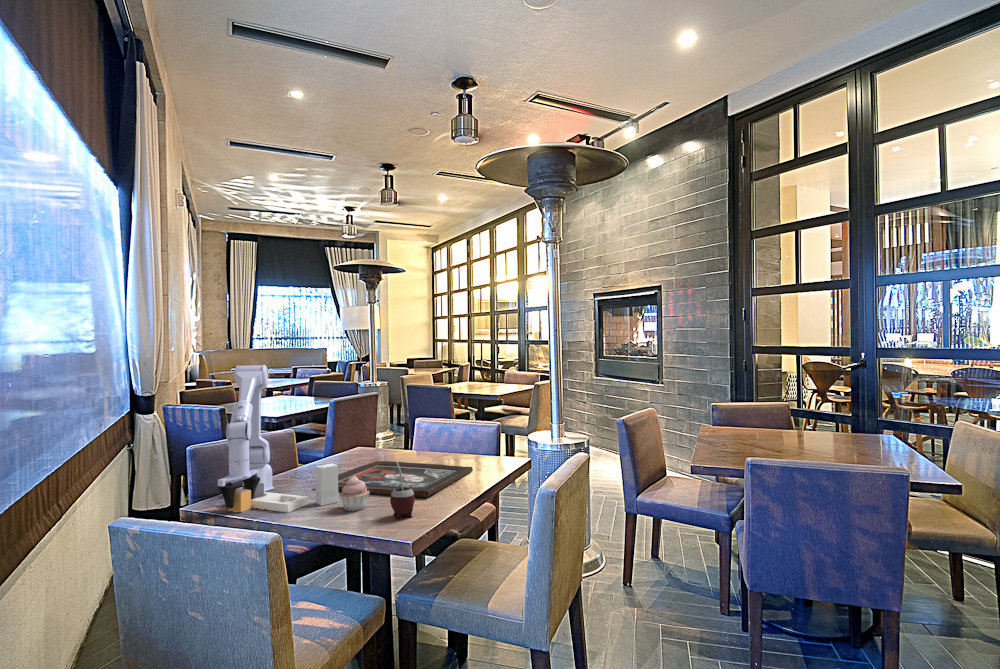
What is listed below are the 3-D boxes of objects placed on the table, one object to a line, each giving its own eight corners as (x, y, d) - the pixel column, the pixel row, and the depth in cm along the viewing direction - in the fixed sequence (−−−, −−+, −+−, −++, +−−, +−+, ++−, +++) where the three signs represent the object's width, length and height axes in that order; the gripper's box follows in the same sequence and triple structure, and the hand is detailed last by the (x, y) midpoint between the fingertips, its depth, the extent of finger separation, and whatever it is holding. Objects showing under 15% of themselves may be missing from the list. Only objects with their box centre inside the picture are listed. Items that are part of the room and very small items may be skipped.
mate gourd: (406, 521, 163) (405, 469, 163) (383, 518, 166) (382, 467, 166) (420, 513, 170) (419, 463, 170) (397, 511, 173) (396, 461, 173)
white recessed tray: (249, 497, 190) (249, 489, 190) (308, 504, 182) (307, 496, 182) (228, 505, 182) (227, 497, 182) (288, 512, 173) (287, 503, 173)
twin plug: (252, 500, 187) (251, 479, 187) (264, 501, 185) (263, 480, 185) (242, 503, 183) (242, 482, 183) (254, 505, 181) (254, 483, 181)
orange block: (238, 507, 179) (238, 487, 179) (251, 509, 177) (250, 489, 177) (228, 511, 175) (228, 491, 175) (241, 513, 173) (240, 492, 173)
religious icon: (431, 500, 185) (431, 490, 185) (314, 491, 199) (314, 482, 199) (476, 472, 223) (476, 465, 223) (375, 467, 237) (375, 459, 237)
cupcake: (373, 503, 181) (372, 472, 181) (366, 512, 172) (365, 479, 172) (343, 504, 181) (343, 472, 181) (335, 513, 172) (334, 480, 172)
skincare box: (332, 499, 186) (332, 462, 186) (339, 502, 183) (338, 464, 183) (314, 503, 182) (314, 465, 182) (321, 506, 179) (320, 467, 179)
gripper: (230, 465, 168) (230, 512, 168) (266, 456, 182) (267, 499, 181) (212, 464, 171) (212, 510, 170) (249, 455, 184) (250, 497, 184)
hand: (239, 504), depth 176 cm, fingers open, 7 cm apart
